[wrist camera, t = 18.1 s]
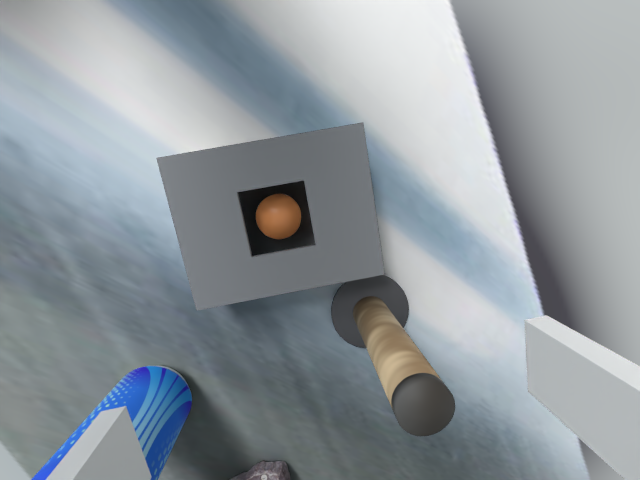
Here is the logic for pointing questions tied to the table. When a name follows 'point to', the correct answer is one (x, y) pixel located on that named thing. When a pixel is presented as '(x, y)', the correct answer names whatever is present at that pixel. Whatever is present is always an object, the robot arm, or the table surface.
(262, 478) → the rock
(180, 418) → the beer can
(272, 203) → the breaker button
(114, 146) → the table surface
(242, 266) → the box
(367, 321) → the stylus
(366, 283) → the pad
